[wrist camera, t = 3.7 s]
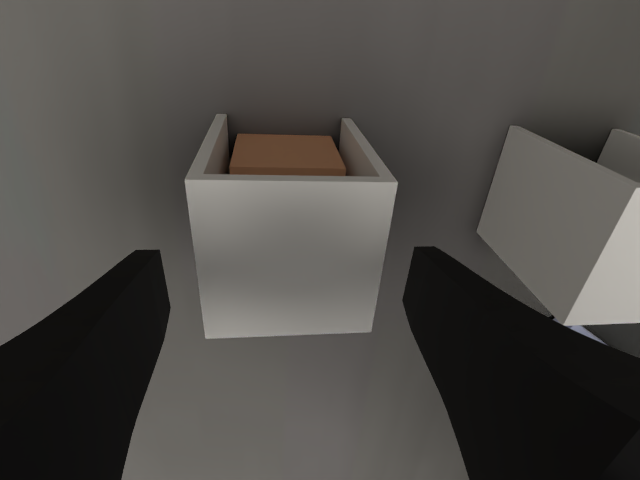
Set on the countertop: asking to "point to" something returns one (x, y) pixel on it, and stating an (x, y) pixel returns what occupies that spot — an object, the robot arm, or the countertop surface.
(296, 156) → the cube
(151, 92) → the countertop surface
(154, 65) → the countertop surface
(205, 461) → the countertop surface
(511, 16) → the countertop surface
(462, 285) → the robot arm
